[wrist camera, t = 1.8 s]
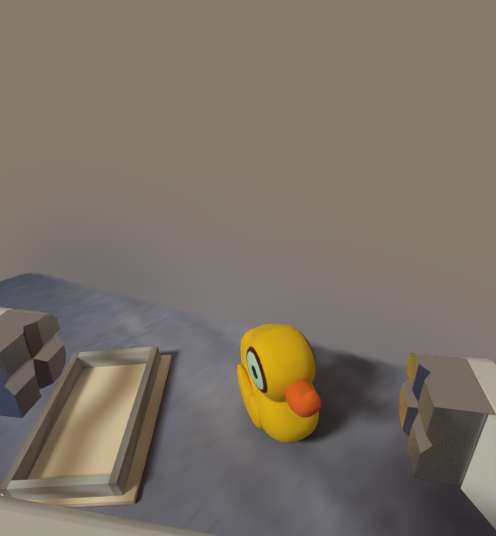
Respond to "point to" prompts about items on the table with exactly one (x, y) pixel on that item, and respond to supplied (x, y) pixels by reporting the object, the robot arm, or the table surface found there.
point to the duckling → (279, 381)
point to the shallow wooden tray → (92, 431)
